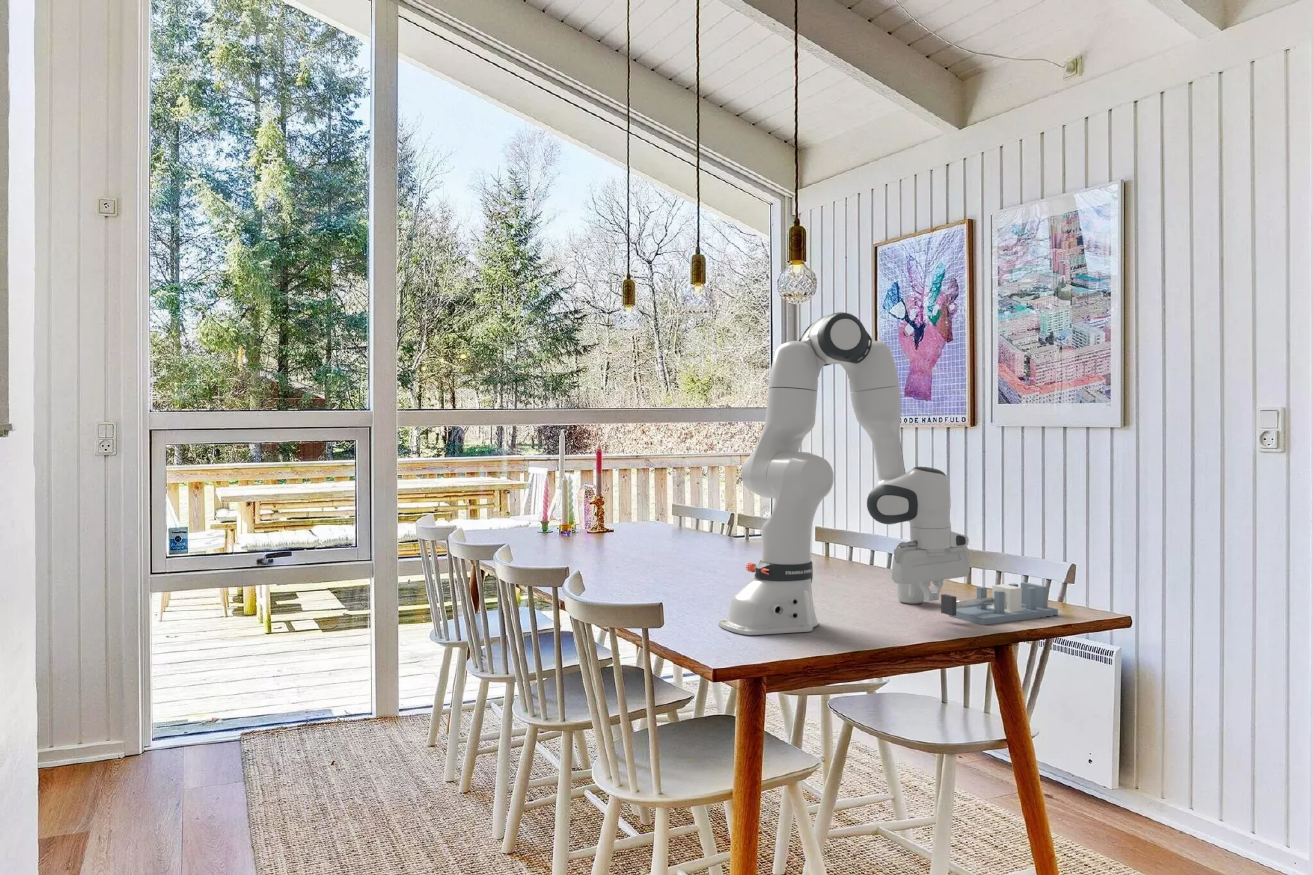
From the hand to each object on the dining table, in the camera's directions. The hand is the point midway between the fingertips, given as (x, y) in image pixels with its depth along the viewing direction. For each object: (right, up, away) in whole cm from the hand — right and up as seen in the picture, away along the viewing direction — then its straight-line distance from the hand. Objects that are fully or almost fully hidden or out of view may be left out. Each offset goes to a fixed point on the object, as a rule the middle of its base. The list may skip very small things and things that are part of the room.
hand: (931, 600), depth 213 cm
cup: (+2, -5, +24) cm, 24 cm away
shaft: (+10, -3, +4) cm, 12 cm away
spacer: (+20, -4, +9) cm, 23 cm away
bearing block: (+20, -5, +9) cm, 23 cm away
